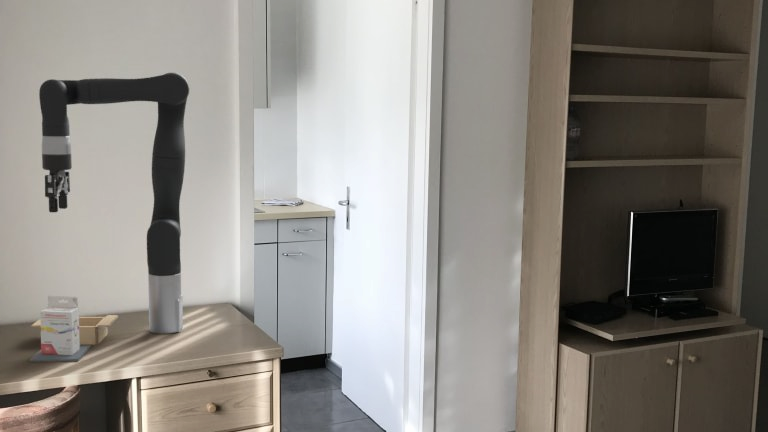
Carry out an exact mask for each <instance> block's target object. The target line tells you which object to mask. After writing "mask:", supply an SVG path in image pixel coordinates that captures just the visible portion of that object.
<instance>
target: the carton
mask: <svg viewBox="0 0 768 432" xmlns="http://www.w3.org/2000/svg"><path fill="white" fill-rule="evenodd" d="M118 318H119V315H118V314H117V315H116V314H109V315H108V314H107V315H106V316H79V343H80V345H95V346H96V345H100V343H101V342H102V341H103V340H105V338H106V336H107V335H108V334H109V328H110V327H111V326H112V325H113V323H114V322H115V321H116V320H117V319H118ZM31 328H41V321H40V318H39V319H38V320H36V321H35V322H33V324H31Z"/></svg>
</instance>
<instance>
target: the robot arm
mask: <svg viewBox="0 0 768 432" xmlns="http://www.w3.org/2000/svg"><path fill="white" fill-rule="evenodd" d="M38 94H39V106H40V113H41V118H42V119H41V120H42V122H41V130H42V131H41V133H42V134H41V136H42V137H41V159H42V160H41V161H42V162H41V164H42V170H45V171H49V174H45V175H44V197H45V198H47V199H48V212H49V213H58V211H59V210H60V209H61V210H63V209H64V210H65V209H68V195H69V193H70V192H71V185H70V172H69V171H70V170H71V169H72V144H71V143H72V142H71V137H70V120H69V117H68V105H79V104H81V105H82V104H83V105H103V104H104V105H106V104H107V105H109V104H119V103H129V102H153V103H157V123H156V131H155V133H154V134H155V135H154V140H153V145H152V154H151V157H152V158H151V184H152V193H153V207H152V214H151V215H152V216H151V221H150V225H149V227H148V229H147V232H146V254H147V256H146V260H147V261H146V262H147V271H148V272H147V273H148V280H147V281H148V327H149V328H148V331H149V332H150V333H153V334H158V335H159V334H161V335H162V334H174V333H181V331H182V329H183V327H184V322H183V321H184V318H183V316H184V313H183V309H184V308H183V295H182V273H181V272H182V271H181V270H182V265H181V264H182V263H181V234H182V233H181V232H182V230H181V221H180V219H181V217H180V215H181V214H180V201H181V195H182V188H183V183H184V179H185V178H184V177H185V166H186V165H185V164H186V139H185V138H186V137H185V128H184V127H185V125H184V124H185V123H184V122H185V121H184V120H185V113H186V105H187V102H188V97H189V95H190V84H189V82H188V80H187V78H186V77H184V76H183V75H182V74H180V73H177V72H171V71H170V72H166V73H164V74H161V75H156V76H149V77H142V78H114V77H113V78H111V77H110V78H107V77H106V78H105V77H104V78H83V79H79V80H74V79H72V80H71V79H70V80H69V79H64V80H61V79H47V80H45V81H44V82H42V83H41V85H40V87H39V93H38Z"/></svg>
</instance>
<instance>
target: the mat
mask: <svg viewBox="0 0 768 432" xmlns="http://www.w3.org/2000/svg"><path fill="white" fill-rule="evenodd" d="M91 348H92V346H91V345H80V349H79V350H78V351H77V352H76V353H74V354H73V355H56V354H41V349H40V350H38V351H37V352H36V353H35V354H34V355H33V356H32V357H31V358H30V359H29V363H31V362H38V363H40V362H41V363H42V362H43V363H44V362H47V363H48V362H79V361H80V360H81V359H82V358H83V356H85V355H86V353H87V352H89V350H90V349H91Z"/></svg>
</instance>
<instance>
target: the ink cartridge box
mask: <svg viewBox="0 0 768 432" xmlns="http://www.w3.org/2000/svg"><path fill="white" fill-rule="evenodd" d="M63 300H64V301H67V302H60V301H63ZM47 301H48V306H47V307H45V308H44V309H42V310H39V311H40V312H39V313H40V315H39V316H40V318H39V319H40V321H41V327H40V348H41V349H40V350H41V354H56V355H73V354H74V353H76V352H77V351H78V350H79V349H80V343H79V317H80V308H79V301H78V297H77V296H65V295H48V296H47Z"/></svg>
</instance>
